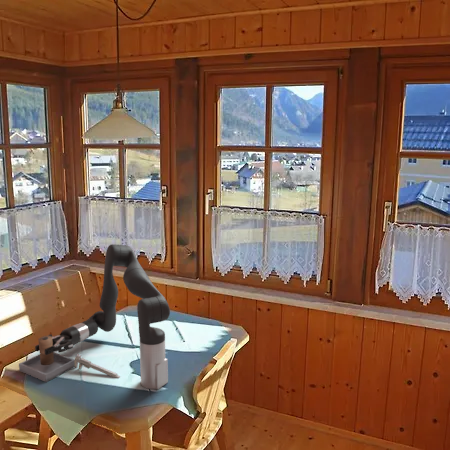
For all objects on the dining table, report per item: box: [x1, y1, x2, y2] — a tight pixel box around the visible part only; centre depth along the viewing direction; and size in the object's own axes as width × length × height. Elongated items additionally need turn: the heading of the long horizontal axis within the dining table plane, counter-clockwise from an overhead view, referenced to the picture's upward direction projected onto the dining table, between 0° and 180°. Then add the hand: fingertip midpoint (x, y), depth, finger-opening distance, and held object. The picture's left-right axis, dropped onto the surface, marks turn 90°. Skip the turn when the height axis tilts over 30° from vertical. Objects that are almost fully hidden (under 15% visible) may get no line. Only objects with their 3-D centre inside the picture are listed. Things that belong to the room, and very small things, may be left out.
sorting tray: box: [18, 352, 75, 383], centre depth 188 cm, size 16×14×3 cm
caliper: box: [74, 353, 121, 379], centre depth 185 cm, size 20×1×6 cm, turn 69°
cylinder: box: [38, 335, 54, 365], centre depth 187 cm, size 5×5×10 cm
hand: (40, 350), depth 184 cm, fingers closed on cylinder, 5 cm apart
